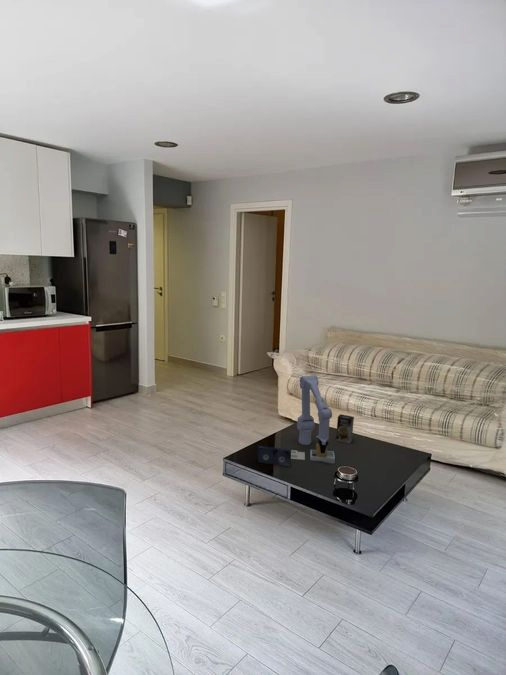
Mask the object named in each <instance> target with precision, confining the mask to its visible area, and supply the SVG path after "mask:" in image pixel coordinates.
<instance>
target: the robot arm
mask: <svg viewBox="0 0 506 675" xmlns="http://www.w3.org/2000/svg"><path fill="white" fill-rule="evenodd" d="M299 389H301V415H300V416H299V417H297V422H296V428H297V430H298V431H299V434H298V435H299V436H298V443H299V444H301V445H303V446H305V445H306V446H307V445H310V444H311V443H312V432H313V430H314V429H315V426H316V425H315V419H314V417H313V416H312V415H311V393H312V395H313V397H314V398H315V400H314V405H315V406H316V410H317V411H318V412H317V417H318V422H319V423H318V435H316V438H317V440H318V442H317V443H319V445H320V451H321V453H325V450H326V447H327V448H328V445H329V439H330V436H329V434H330V433H329V432H330V422H331V421H330V420H331V418H332V417H333V412H332V409H331V408H330V407H329V406H328V405H327V403H326V401H325V398H324V397H322V396H321V392H320V389H319V377H318V376H317V375H316V374H315V375H301V377H300V378H299Z"/></svg>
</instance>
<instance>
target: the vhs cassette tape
mask: <svg viewBox="0 0 506 675" xmlns="http://www.w3.org/2000/svg"><path fill="white" fill-rule="evenodd" d="M291 450H292V449H286V448H279V447H271V446H264V445H258V448H257V463H261V464H267V465H275V466H283V467H288V468H290V467H291V463H292V462H291V460H292V459H291Z"/></svg>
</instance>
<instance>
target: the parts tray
mask: <svg viewBox="0 0 506 675" xmlns="http://www.w3.org/2000/svg"><path fill="white" fill-rule="evenodd" d="M309 451H310V452H309V453H310V457H309V458H310V461H318V462H323V463H324V464H333V465H334V464H336V463H335V460H336V457H335V451H334V450H331V451H330V450H327V457H316V456H315V455H316V449H310V450H309Z"/></svg>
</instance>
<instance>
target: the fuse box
mask: <svg viewBox="0 0 506 675" xmlns="http://www.w3.org/2000/svg"><path fill="white" fill-rule="evenodd" d="M290 450H291V460H303V461H305V460H306V458H305V457H306V455H305V454H306V453H305V451H298V450H297V449H296V450H295V449H290Z"/></svg>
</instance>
